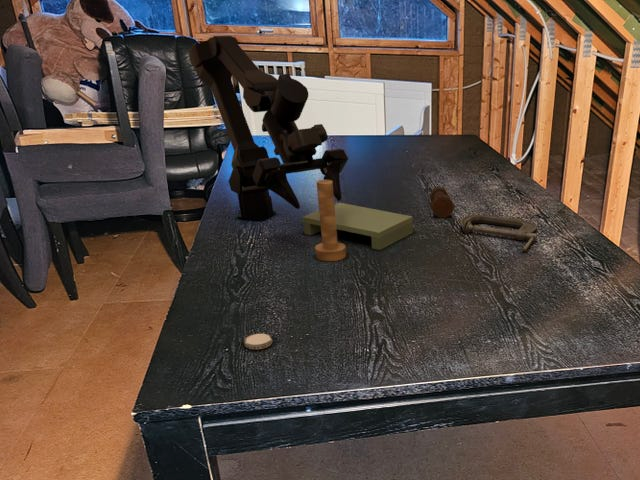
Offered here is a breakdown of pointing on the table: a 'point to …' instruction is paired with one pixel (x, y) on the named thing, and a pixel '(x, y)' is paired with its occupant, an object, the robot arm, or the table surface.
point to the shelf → (365, 224)
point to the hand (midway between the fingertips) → (319, 203)
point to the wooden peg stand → (328, 225)
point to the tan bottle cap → (258, 341)
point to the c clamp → (521, 234)
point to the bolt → (441, 202)
